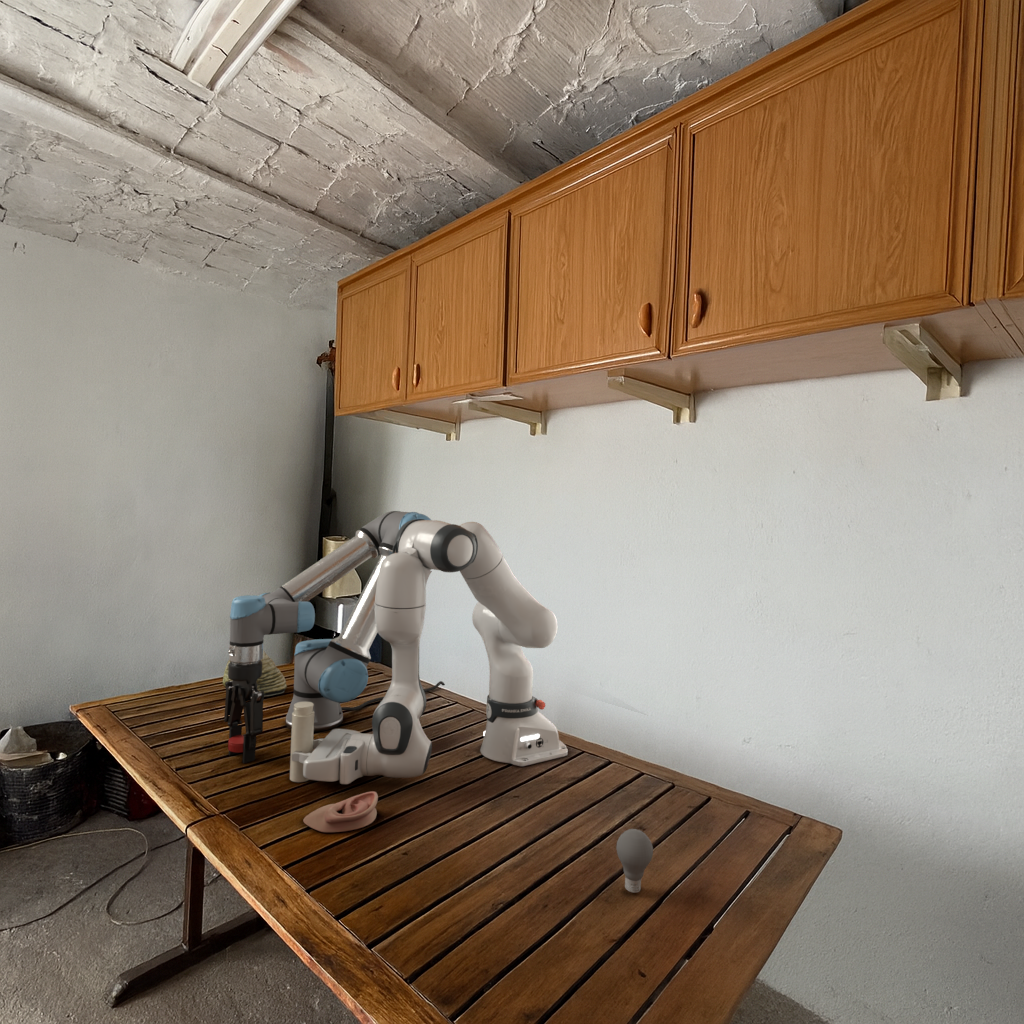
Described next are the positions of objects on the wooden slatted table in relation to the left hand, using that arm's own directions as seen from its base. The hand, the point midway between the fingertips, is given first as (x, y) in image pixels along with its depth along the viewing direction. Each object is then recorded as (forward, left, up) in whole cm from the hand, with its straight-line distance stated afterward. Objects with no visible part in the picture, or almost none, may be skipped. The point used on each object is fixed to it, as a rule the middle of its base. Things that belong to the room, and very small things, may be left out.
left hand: (241, 757), depth 152 cm
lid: (0, 0, +4) cm, 4 cm away
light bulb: (-17, +95, 0) cm, 97 cm away
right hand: (-3, +19, +6) cm, 20 cm away
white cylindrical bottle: (-4, +19, 0) cm, 20 cm away
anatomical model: (+1, +41, 0) cm, 41 cm away
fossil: (-26, -41, 0) cm, 49 cm away
